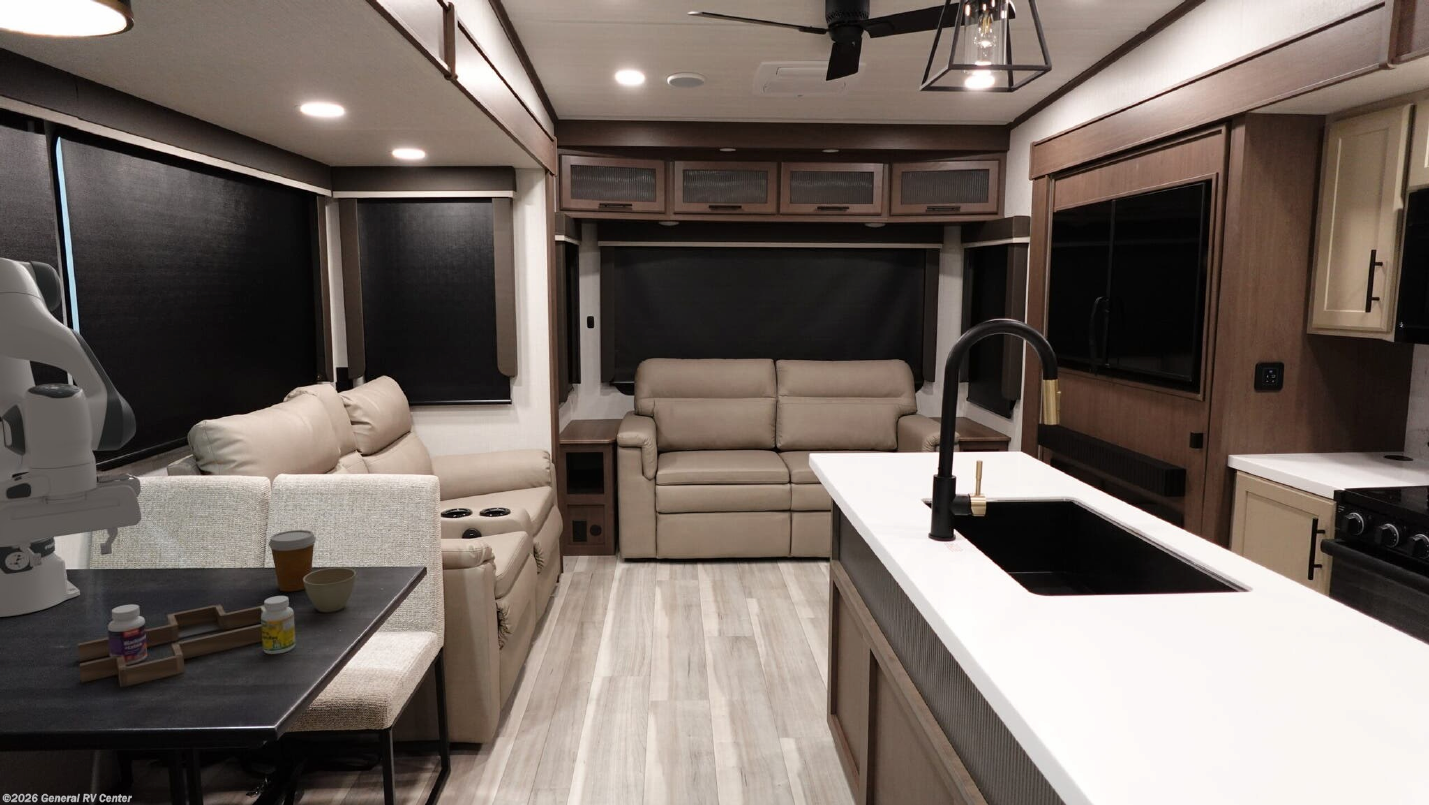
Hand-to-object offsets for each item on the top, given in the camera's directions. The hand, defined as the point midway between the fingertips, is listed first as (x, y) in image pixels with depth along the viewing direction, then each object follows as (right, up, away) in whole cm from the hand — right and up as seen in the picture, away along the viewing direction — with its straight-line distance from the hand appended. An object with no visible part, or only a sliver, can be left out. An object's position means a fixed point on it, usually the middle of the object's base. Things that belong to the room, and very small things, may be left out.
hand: (72, 559), depth 137 cm
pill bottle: (+5, -20, +7) cm, 22 cm away
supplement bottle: (+29, -20, +13) cm, 37 cm away
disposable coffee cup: (+15, -15, +44) cm, 49 cm away
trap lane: (+12, -19, +13) cm, 26 cm away
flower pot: (+29, -17, +32) cm, 47 cm away
